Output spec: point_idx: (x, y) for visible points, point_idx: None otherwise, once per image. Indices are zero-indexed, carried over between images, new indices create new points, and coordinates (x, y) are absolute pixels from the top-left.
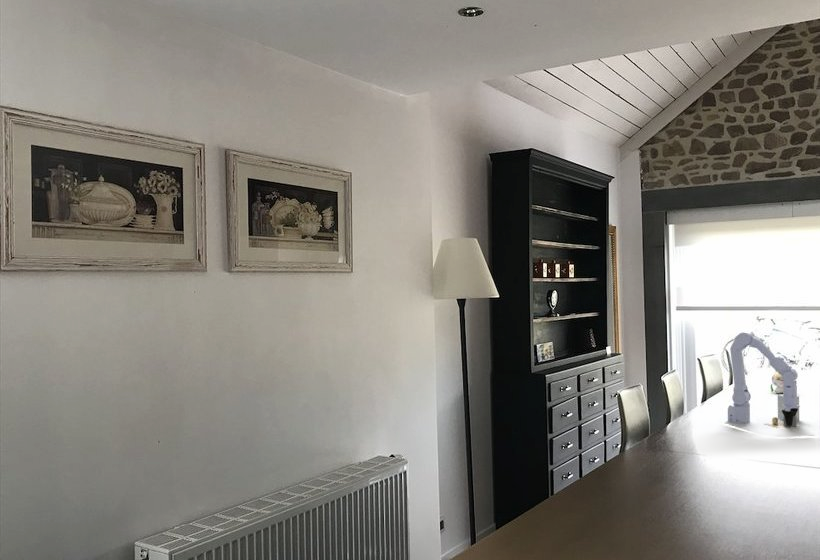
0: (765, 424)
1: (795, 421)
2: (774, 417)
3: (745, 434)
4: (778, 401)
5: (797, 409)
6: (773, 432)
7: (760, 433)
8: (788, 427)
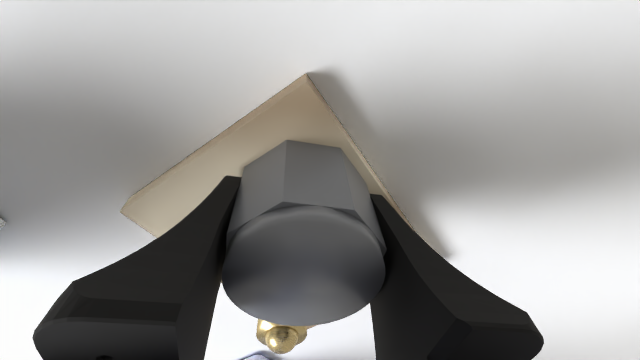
0: (312, 325)
1: (353, 189)
2: (291, 349)
3: (580, 353)
4: None
5: (177, 315)
6: (524, 270)
7: (557, 315)
8: (393, 207)
